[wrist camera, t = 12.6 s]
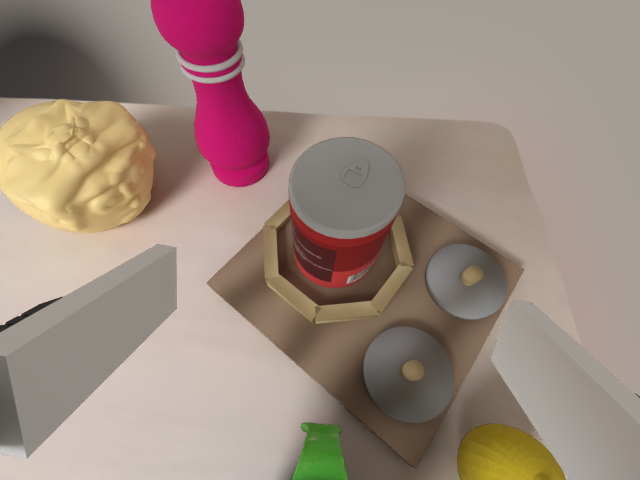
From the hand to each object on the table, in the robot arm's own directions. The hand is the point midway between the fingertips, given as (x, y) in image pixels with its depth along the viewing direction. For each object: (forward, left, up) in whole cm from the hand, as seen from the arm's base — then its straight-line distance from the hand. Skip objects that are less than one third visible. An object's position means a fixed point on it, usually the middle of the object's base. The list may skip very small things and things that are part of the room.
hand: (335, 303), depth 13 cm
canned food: (-5, +8, -16) cm, 18 cm away
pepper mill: (-20, +10, -17) cm, 28 cm away
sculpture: (-27, -2, -17) cm, 32 cm away
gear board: (-1, +8, -16) cm, 18 cm away
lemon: (+14, +2, -17) cm, 22 cm away
